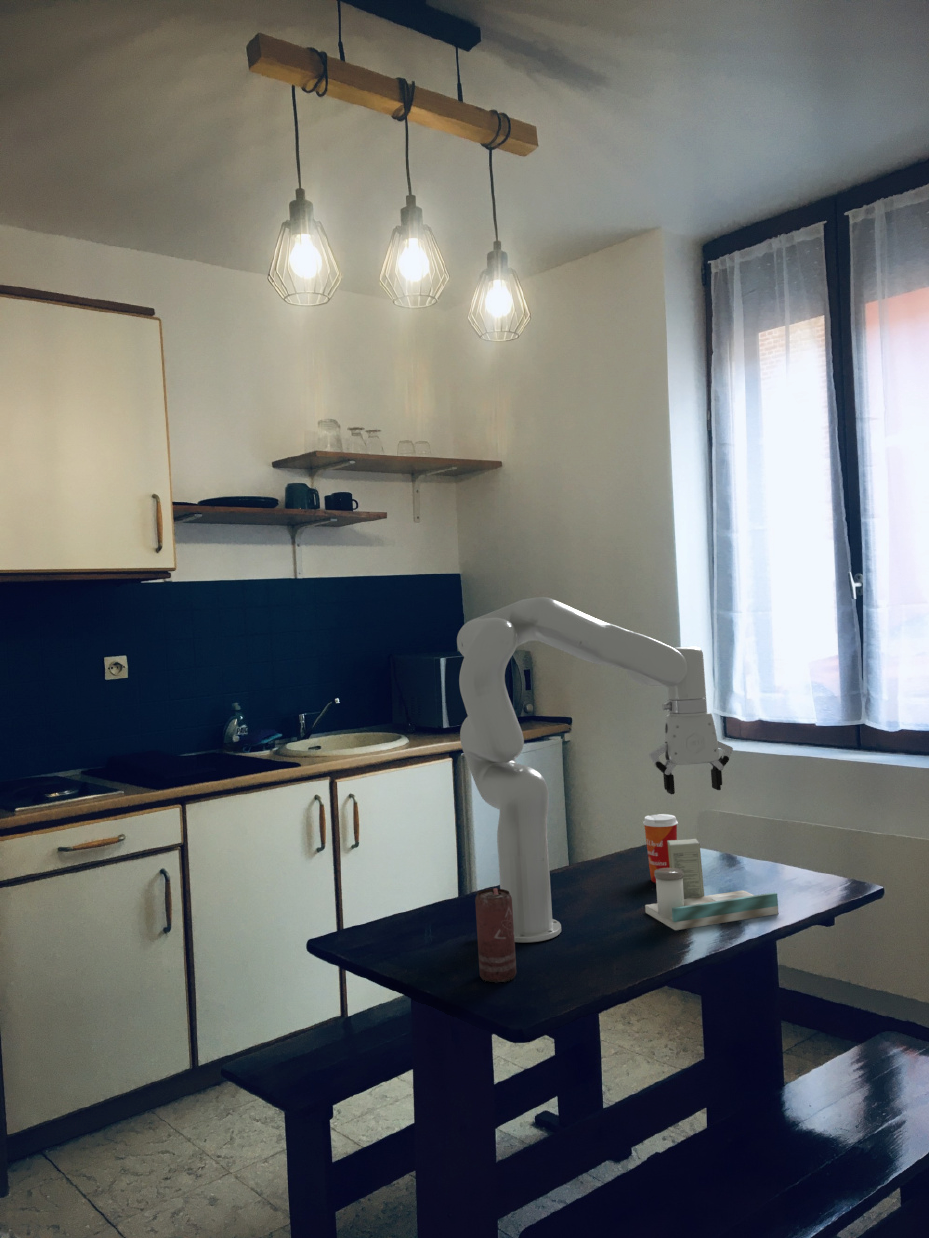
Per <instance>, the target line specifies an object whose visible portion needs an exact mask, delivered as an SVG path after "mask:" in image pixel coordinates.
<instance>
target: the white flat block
mask: <svg viewBox="0 0 929 1238" xmlns="http://www.w3.org/2000/svg"><path fill="white" fill-rule="evenodd" d="M778 899H779V898H778V892H775V891H773V892H767V893H764V894H763V893H761V894H752V893H750V892H748V891H746V890H736V891H730V892H724V893H717V894H710V895H704V896H702V897H695V898H689V899H684V906H682V907H676V908H672V917H663V916H660V915H659V914H658V904H657V902H656V903H651V904H645V905H644V908H645V914H647V915H649V916H650V917H652V918H654V919H655V920H657V921H658V922H661V923H663V924H664V925H665V926H666V927H669V928H670V929H672V930H674V931H679V930H685V929H686V930H687V929H693V928H699V927H705V926H710V925H717V924H722V923H723V924H724V923H729V922H736V921H741V920H742V921H743V920H748V919H755V918H760V917H761V918H762V917H766V916H767V917H769V916H773V915H779V900H778Z"/></svg>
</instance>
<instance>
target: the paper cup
mask: <svg viewBox="0 0 929 1238" xmlns="http://www.w3.org/2000/svg"><path fill="white" fill-rule="evenodd" d="M643 819H644V820H643V821H642V825H643V826H644V833H645V842H646V843H645V844H646V849H647V851H646V852H647V859H648V867H649V874H650V880H651V882H653V884H656V878H655V873H654V871H655V870H657V869H660V868H670V866H669V854H668V843H667V841H668V840H678V834H677V833H678V829H677V828H678V826H677V825H678V824H679V821H678V820H677V817H676V816H675V815H673V814H667V813H661V814H660V813H657V814H656V813H655V814H651V815H645V816H644V818H643Z"/></svg>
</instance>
